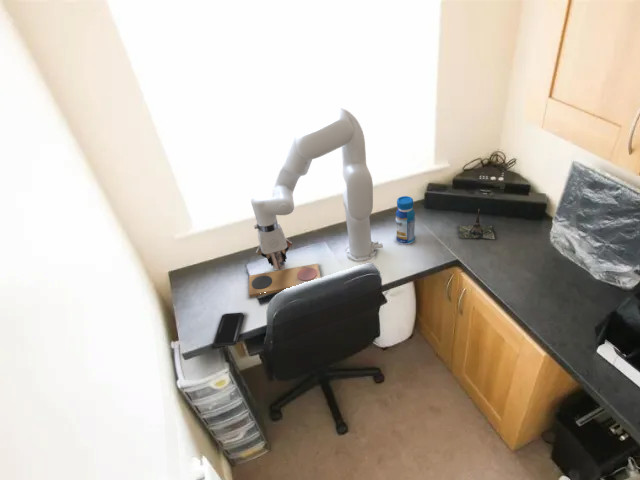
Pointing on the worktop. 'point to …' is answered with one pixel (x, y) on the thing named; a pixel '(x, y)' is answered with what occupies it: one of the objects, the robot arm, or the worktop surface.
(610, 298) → the worktop surface
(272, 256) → the beer can
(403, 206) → the beverage bottle
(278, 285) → the board
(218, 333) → the phone
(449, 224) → the worktop surface
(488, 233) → the eiffel tower figurine
